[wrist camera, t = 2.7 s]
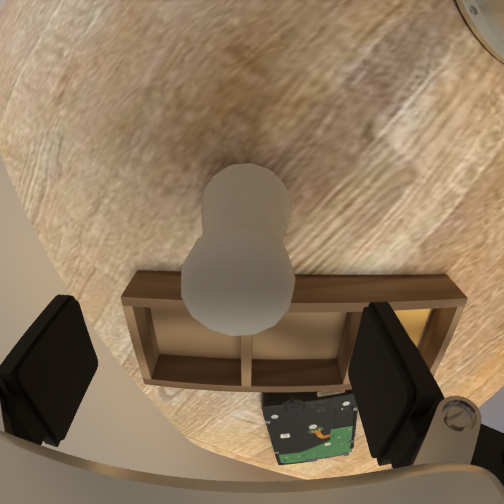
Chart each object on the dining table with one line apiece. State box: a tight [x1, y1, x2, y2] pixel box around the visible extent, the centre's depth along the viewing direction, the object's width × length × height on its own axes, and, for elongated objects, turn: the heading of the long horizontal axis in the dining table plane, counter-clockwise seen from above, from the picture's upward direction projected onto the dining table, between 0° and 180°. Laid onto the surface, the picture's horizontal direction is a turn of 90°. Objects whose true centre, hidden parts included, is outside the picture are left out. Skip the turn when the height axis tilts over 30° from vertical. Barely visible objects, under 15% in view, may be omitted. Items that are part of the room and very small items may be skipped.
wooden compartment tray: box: [121, 271, 467, 392], centre depth 26 cm, size 10×27×4 cm, turn 89°
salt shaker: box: [181, 163, 295, 336], centre depth 17 cm, size 6×6×13 cm
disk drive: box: [262, 389, 358, 465], centre depth 33 cm, size 10×3×15 cm
